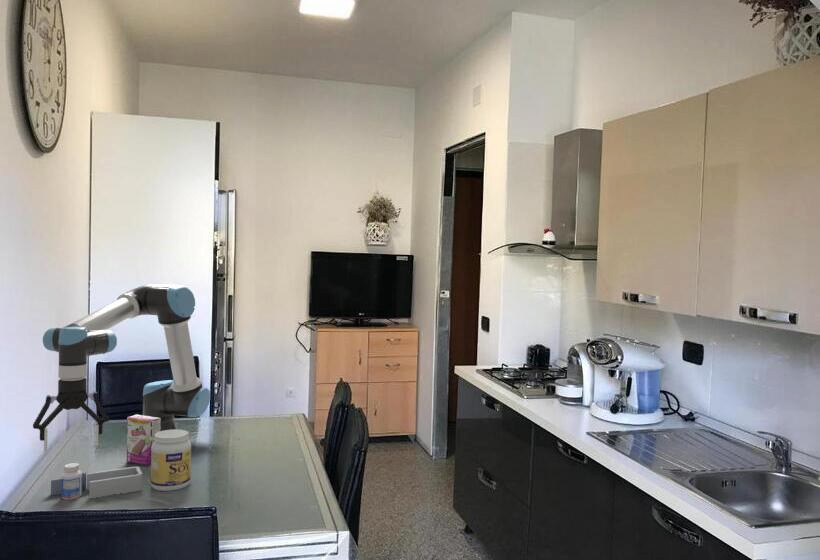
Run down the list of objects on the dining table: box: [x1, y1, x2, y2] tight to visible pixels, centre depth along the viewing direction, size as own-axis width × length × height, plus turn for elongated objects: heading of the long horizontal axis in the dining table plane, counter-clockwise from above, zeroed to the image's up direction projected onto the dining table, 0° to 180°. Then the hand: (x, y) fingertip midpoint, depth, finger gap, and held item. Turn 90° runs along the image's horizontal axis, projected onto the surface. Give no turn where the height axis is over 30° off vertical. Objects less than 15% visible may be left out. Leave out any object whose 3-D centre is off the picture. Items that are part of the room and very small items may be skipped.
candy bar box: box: [126, 414, 161, 467], centre depth 222 cm, size 11×5×16 cm, turn 71°
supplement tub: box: [150, 429, 192, 492], centre depth 202 cm, size 12×12×17 cm
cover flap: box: [50, 472, 87, 496], centre depth 194 cm, size 1×10×5 cm, turn 122°
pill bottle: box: [61, 462, 83, 501], centre depth 190 cm, size 6×5×10 cm
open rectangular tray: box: [86, 465, 144, 500], centre depth 197 cm, size 15×9×5 cm, turn 122°
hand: (71, 448), depth 190 cm, fingers open, 13 cm apart
